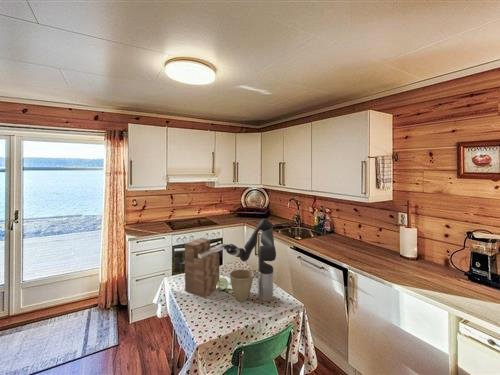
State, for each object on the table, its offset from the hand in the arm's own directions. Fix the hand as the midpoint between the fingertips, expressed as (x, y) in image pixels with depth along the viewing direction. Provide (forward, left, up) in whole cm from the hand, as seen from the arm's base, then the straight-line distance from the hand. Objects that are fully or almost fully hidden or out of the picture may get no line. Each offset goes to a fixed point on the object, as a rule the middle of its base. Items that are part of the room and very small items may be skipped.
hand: (222, 244), depth 176 cm
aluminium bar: (-8, +8, -3) cm, 12 cm away
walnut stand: (-9, +14, -27) cm, 32 cm away
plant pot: (-26, -9, -27) cm, 39 cm away
